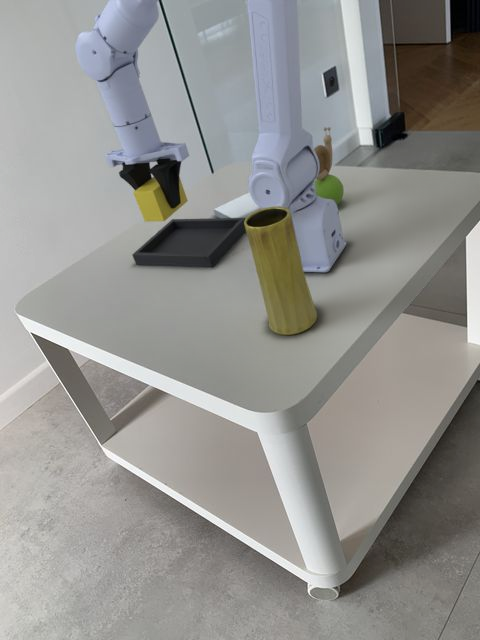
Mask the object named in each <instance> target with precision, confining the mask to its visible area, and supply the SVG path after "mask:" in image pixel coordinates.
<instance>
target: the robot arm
mask: <svg viewBox="0 0 480 640" xmlns="http://www.w3.org/2000/svg"><path fill="white" fill-rule="evenodd" d="M159 1H160V0H108V2H107V3H106V5H105V7H104V9H103V11H102V12H101V13H100V14H97V15H96V16H95V17H94V23H95V24H94V25H93V29H91V30H86V31H83V32H81V33H79V34H78V35H77V39H76V42H75V46H74V47H75V49H74V50H75V56H76V60H77V62H78V64H79V66H80V68H81V69H82V71H83V72H84V74H86V75H87V76H88V77H89V78H91V79H93V80H95V82H96V85H97V88H98V90H99V92H100V95H101V98H102V100H103V102H104V105H105V107H106V110H107V112H108V115H109V117H110V120H111V123H112V126H113V128H114V130H115V133H116V135H117V137H118V140H119V143H120V145H121V149H115V150H111V151H109V152H108V153H107V154H105V155H104V157H105V159H106V162H107V164H108V167H109V168H114V167H117V166H122V169H121V170H120V171H119V172H118V174H119V175H118V176H119V177H120V179H123V180H124V181H125V182H126V183H127V184H129V186H130V187H131V188H132V189H133V190H134V191H135V190H137V189H138V188H139V187H141V186H142V185H143V184H145V183H146V182H147V181H149V180H150V179H151V178H153V177H155V179H156V180H157V182H158V183H159V185H160V187H161V189H162V191H163V193H164V195H165V198H166V200H167V202H168V204H169V206H170V207H171V208H176V207H177V206H178V205H179V204H180V203H181V200H180V190H179V177H180V173H181V167H182V162H183V161H184V160H186V159H187V158H189V157H190V152H189V150H188V147H187V144H186V142H182V143H181V142H179V143H178V142H169V141H167V142H165V141H161V138H160V135H159V132H158V130H157V126H156V124H155V121H154V118H153V115H152V112H151V110H150V107H149V104H148V101H147V99H146V96H145V93H144V90H143V87H142V84H141V81H140V74H141V72H140V70H139V66H138V59H139V47H140V46H141V45H142V43H143V42H144V41H145V39H147V36H148V35H149V33H150V32H151V30H152V29H153V28H154V26H155V25H156V23H157V22H158V20H159V17H160V15H159V14H160V12H159V7H158V2H159ZM246 3H247V16H248V25H249V37H250V47H251V57H252V58H251V59H252V67H253V69H252V70H253V78H254V91H255V100H256V101H255V103H256V112H257V123H258V124H257V125H258V133H259V134H258V138H257V141H256V144H255V147H254V150H253V153H252V156H251V165H252V168H251V173H250V176H249V178H248V182H247V183H248V184H247V187H248V193H250V195H251V197H252V199H253V201H254V202H255V203H256V204H257V205H258V206H259V207H260V208H261V209H263V208H267V207H274V206H279V207H285V208H287V209H288V210H289V211H290V213H291V216H292V220H293V225H294V230H295V234H296V239H297V243H298V247H299V252H300V256H301V261H302V267H303V271H304V273H329V272H330V270H331V268H332V267H333V265H334V264H335V262H336V261H337V259H338V258H339V257H340V256H341V254H342V252H343V251H344V249H345V248H346V246H347V241H345V240H344V235H343V234H344V233H343V229H342V223H341V217H340V213H339V207H338V204H336V203H335V201H334V200H332V199H325V198H322V197H319V196H317V195H316V192H315V189H316V188H315V183H314V181H315V180H316V178H317V176H318V174H319V169H320V164H319V159H318V157H317V155H316V153H315V150H314V148H315V147H314V142H313V134H312V133H311V132H309V131H308V130H306V129H305V128H303V117H302V93H301V92H302V91H301V90H302V89H301V66H300V42H299V41H300V40H299V18H298V17H299V15H298V13H299V12H298V0H246ZM155 162H156V164H155V165H153V166H152V167H151V163H155Z"/></svg>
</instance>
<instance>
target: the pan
mask: <svg viewBox="0 0 480 640" xmlns="http://www.w3.org/2000/svg"><path fill="white" fill-rule="evenodd" d="M245 219H246V218H218V217H217V218H216V217H215V218H213V217H211V218H210V217H209V218H176V219H175V218H172V219H171V220H170V221H168V223H166V224H165V225H164V226H163V227H161V229H159V230H158V231H157V232H156V233H155V234H153V236H151V237H150V239H148V240H146V242H145V243H143V244H142V245H141V246H140V247H139V248H138V249H137V250H136V251H134V252H133V253H132V255H131V256H132V258H133V260H134V262H135V265H136V266H161V267H190V268H192V267H194V268H214V266H215V265H217V263H218V262H219V261H220V260H221V259H222V257H223V256H225V254H226V253H228V251H229V250H230V249H231V248H232V247H233V246H234V245H235V244H236V242H237V241H238V240H239V239H240V238H241V237H242V236H243V235H244V234H245V233H246V229H245V225H244V221H245Z"/></svg>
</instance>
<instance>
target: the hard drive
mask: <svg viewBox="0 0 480 640" xmlns="http://www.w3.org/2000/svg"><path fill="white" fill-rule="evenodd" d="M260 209H261V208H260V207H259V206H258V205H257V204H256V203H255V202H254V201H253V199H252V197H251V195H250V192H248V193H245V194H242V195H241V196H238V197H236V198H235V199H232V200H230V201H228V202H225V203H224V204H221V205H220V206H218V207H215V208H213V209H212V210H213V213H214V216H215V218H216V217H217V218H247V217H248V216H249V215H250V214H252V213H254V212H255V211H258V210H260Z"/></svg>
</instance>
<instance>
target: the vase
mask: <svg viewBox="0 0 480 640" xmlns="http://www.w3.org/2000/svg"><path fill="white" fill-rule="evenodd" d="M244 225H245V229H246V231H245V233H246V237H247V240H248V243H249V246H250V250H251V254H252V258H253V262H254V266H255V269H256V274H257V277H258V281H259V286H260V290H261V294H262V298H263V302H264V307H265V310H266V314H267V315H266V316H267V318H268V325H269V328H270V330H271V331H272V332H273V333H275V334H278V335H283V336H292V335H297V334H301V333H303V332H305V331H307V330H309V329H310V328H311V327H313V325H314V324H315V323H316V321H317V319H318V312H317V309H316V307H315V304H314V300H313V297H312V294H311V290H310V287H309V285H308V281H307V278H306V274H305V272H304V271H303V267H302V261H301V256H300V252H299V247H298V243H297V239H296V234H295V230H294V225H293V220H292V216H291V213H290V211H289V210H288V209H287V208H285V207H279V206H274V207H267V208H263V209H260V210H258V211H255V212H254V213H252V214H250V215H249V216H248V217H247V218H246V219H245V221H244Z"/></svg>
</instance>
